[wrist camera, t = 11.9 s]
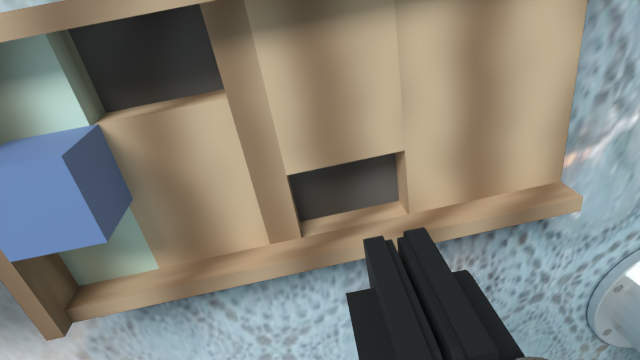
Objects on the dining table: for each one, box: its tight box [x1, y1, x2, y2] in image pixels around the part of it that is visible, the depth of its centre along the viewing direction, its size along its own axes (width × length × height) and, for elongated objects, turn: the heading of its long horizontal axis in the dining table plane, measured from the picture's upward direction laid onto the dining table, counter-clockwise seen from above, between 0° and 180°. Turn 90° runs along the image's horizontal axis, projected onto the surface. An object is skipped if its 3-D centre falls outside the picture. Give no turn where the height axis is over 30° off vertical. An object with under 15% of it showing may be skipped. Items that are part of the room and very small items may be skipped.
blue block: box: [0, 124, 133, 262], centre depth 18 cm, size 4×4×4 cm
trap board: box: [0, 0, 588, 341], centre depth 21 cm, size 32×16×6 cm, turn 101°
